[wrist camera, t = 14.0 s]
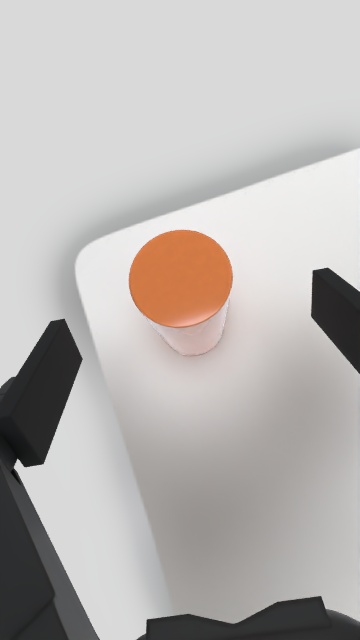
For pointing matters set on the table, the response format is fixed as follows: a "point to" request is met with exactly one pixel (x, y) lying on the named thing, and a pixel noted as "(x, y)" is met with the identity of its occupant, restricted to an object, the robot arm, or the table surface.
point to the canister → (183, 289)
